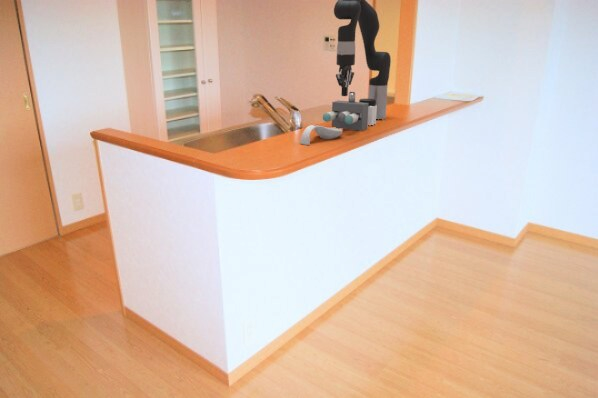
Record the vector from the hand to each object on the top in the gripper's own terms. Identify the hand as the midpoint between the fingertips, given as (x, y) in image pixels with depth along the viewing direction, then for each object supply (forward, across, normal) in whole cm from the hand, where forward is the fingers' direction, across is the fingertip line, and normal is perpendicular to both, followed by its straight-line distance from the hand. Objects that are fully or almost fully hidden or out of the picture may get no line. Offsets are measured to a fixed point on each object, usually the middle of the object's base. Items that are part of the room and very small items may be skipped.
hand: (344, 96), depth 203 cm
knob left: (+13, -10, -11) cm, 20 cm away
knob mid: (+13, -14, -6) cm, 20 cm away
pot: (+5, -19, -6) cm, 20 cm away
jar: (+17, -31, -2) cm, 35 cm away
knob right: (+13, -10, 0) cm, 16 cm away
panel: (+17, -18, -6) cm, 25 cm away
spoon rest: (+18, +11, -5) cm, 21 cm away
